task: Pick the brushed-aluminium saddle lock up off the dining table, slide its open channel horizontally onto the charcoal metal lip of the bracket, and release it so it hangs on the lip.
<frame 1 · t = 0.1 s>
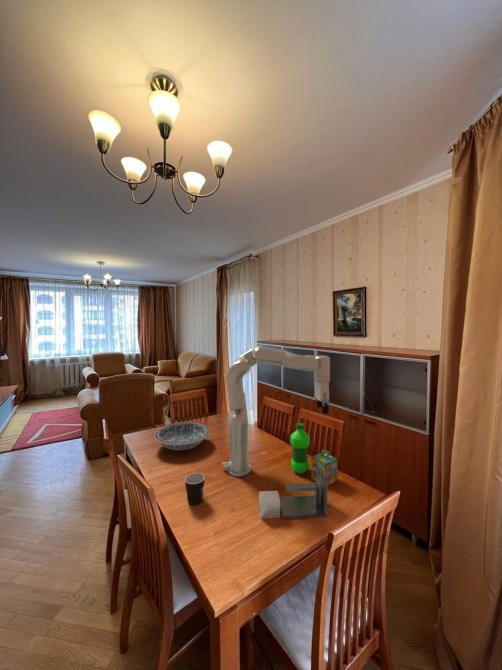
hand: (322, 410, 144), 31 cm above the table, tool pointing down, fingers open, 9 cm apart
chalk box: (324, 480, 133), on the table
plastic bottle: (300, 471, 142), on the table
ceramic bowl: (182, 446, 172), on the table
bracket: (301, 507, 113), on the table
dark grey cup: (197, 498, 120), on the table
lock: (269, 512, 111), on the table
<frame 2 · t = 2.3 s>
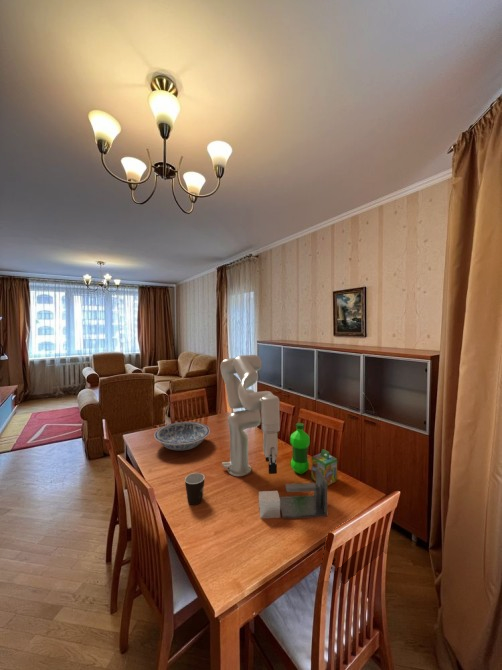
hand: (270, 467, 111), 19 cm above the table, tool pointing down, fingers open, 9 cm apart
nothing on the table moved.
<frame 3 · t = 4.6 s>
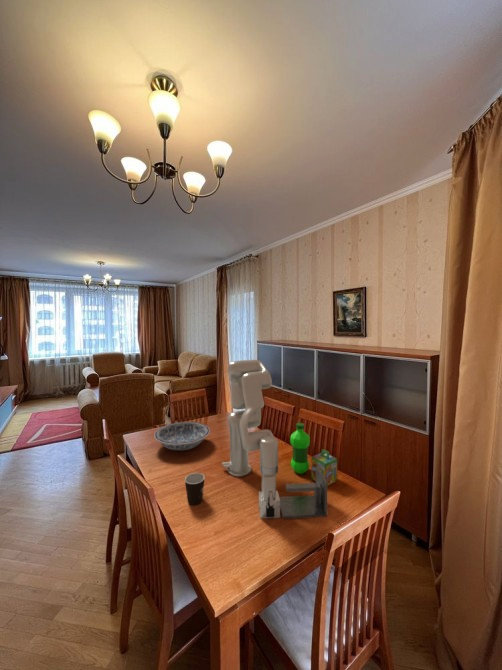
hand: (269, 510, 111), 1 cm above the table, tool pointing down, fingers closed on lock, 6 cm apart
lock: (269, 512, 111), on the table, touching gripper
everything else where it was.
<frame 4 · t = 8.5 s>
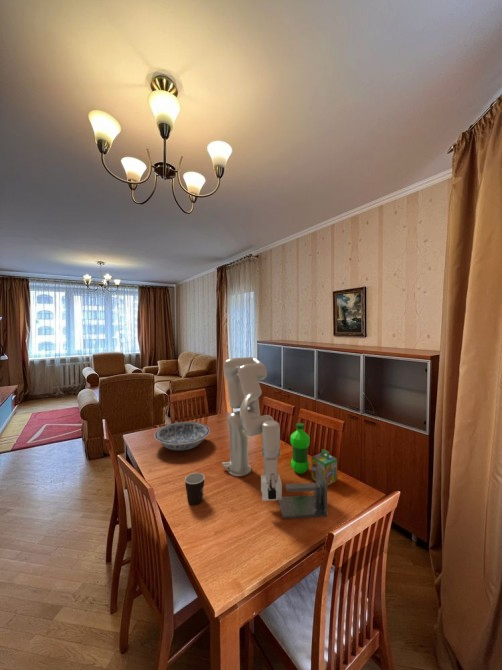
hand: (271, 492, 113), 7 cm above the table, tool pointing down, fingers closed on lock, 6 cm apart
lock: (271, 495, 113), point 6 cm above the table, touching gripper
everything else where it was.
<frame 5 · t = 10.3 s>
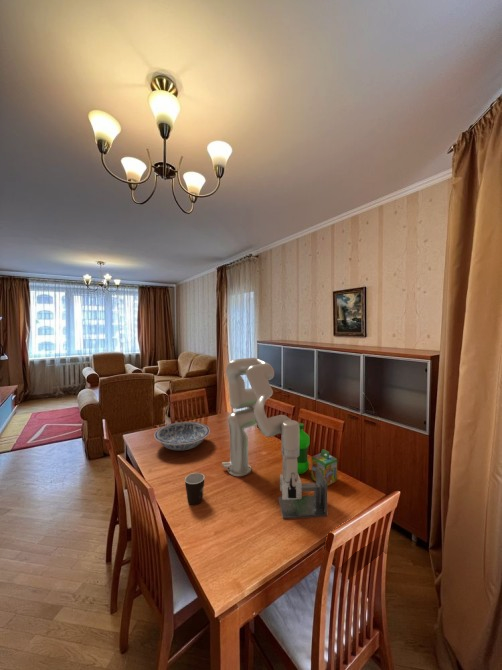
hand: (290, 492, 113), 7 cm above the table, tool pointing down, fingers closed on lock, 6 cm apart
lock: (290, 494, 113), point 6 cm above the table, touching gripper
everything else where it was.
when the fingers open (7 cm above the table, at t = 12.2 s): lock stays where it is, resting on bracket.
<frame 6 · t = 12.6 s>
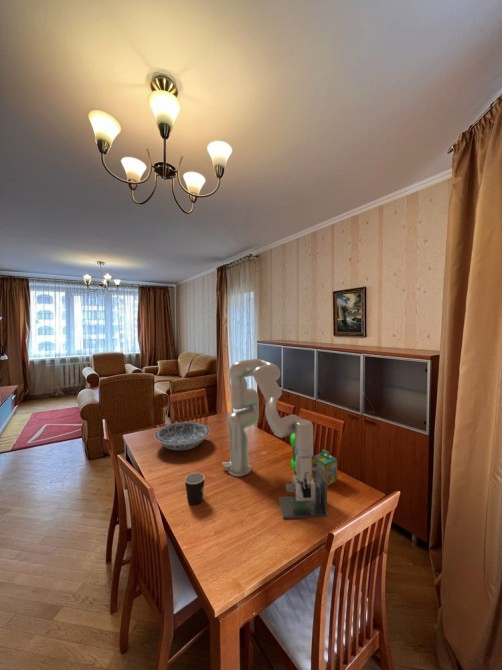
hand: (303, 489, 113), 8 cm above the table, tool pointing down, fingers open, 9 cm apart
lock: (303, 495, 113), point 5 cm above the table, touching bracket
everything else where it was.
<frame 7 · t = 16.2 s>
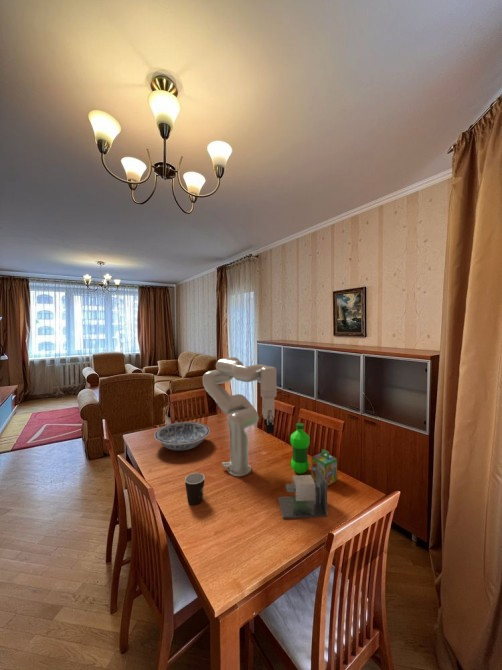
hand: (268, 428, 127), 28 cm above the table, tool pointing down, fingers open, 9 cm apart
nothing on the table moved.
at the end: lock 0.4 cm from the target spot on the bracket, point 5.0 cm above the bracket's base; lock touching bracket; the gripper is holding nothing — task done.
